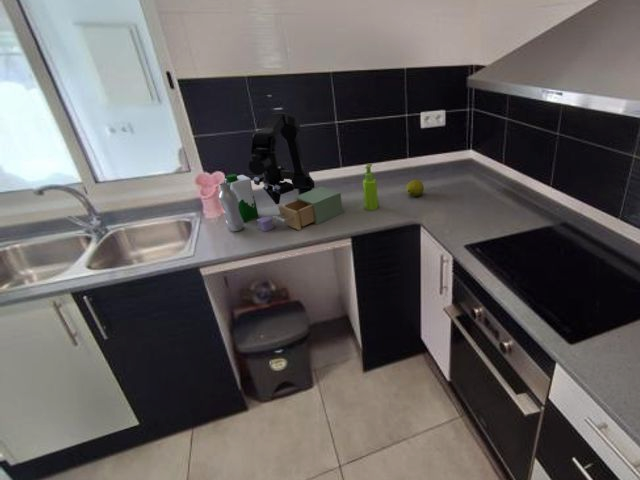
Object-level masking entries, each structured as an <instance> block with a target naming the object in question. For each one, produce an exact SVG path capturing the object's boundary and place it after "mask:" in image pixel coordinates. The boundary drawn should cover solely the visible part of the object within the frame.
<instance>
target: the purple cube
mask: <svg viewBox="0 0 640 480" xmlns="http://www.w3.org/2000/svg"><path fill="white" fill-rule="evenodd" d="M256 221H257V225H258V229H259V230H261V231H263V232H268V231H269V230H272V229H274V228H275V226H274V222H273V218H271V217H269V216H267V215H265V216H262V217H260V218H258V219H256Z"/></svg>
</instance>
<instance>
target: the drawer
mask: <svg viewBox="0 0 640 480" xmlns="http://www.w3.org/2000/svg"><path fill="white" fill-rule="evenodd" d="M278 211H279V214H277V215H276V214H275V215H273V216H272V219H274V220H277V221H279V222H281V223H282V224H285V225H286V226H288V227H291V228H294V229H296V230H298V231H299V230H302V228H303V227H306V226H307V225H309V224H311V223H313V222H314V221H315V214H314V208H313V205H312V204H309V203H307V202H304V201H301V200H299V199H298V200H293V201H290V202H288V203H285V204H284V205H283V204H278Z"/></svg>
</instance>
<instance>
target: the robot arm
mask: <svg viewBox="0 0 640 480" xmlns="http://www.w3.org/2000/svg"><path fill="white" fill-rule="evenodd" d="M300 128H301V124H300V121H299V120H298V119H297V118H296V117H294V116H290V115H288V114H287V113H285V112H275V113H272V117H271V118H270V120H269V121H268V122H267V124H266V125H265V126H264V127H263V128H261V129H259V130H256V131H255V132H254V133H253V135H252V137H251V145H250V155H252V156H251V160H250V161H249V163H248V170H249V171H250V172H251V173H252V174H253V175H256V176H254V177H253V183H254V185H256V186H260V185H261V183H262V184H263V186H262V189H263V191H265V193H266V194H267V195H268V196H269V197H270V199H271V200H272V201H273V202H274V204H275V205H280V202H281V195H284V194H286V193H290V192H292V191H295V190H297V191H298V195H300V194H303V193H306V192H308V191H311V190H313V189H316V188H315V187H316V186H315V185H316V184H315V181H314V179H313V178H312V177H311V175H310V171H309V170H308V169H307V168H306V167H305V165H304V161H303V156H302V152H301V147H300V143H299V139H298V136H299V134H300V131H301V130H300ZM279 133H280V136H281V137H282V138H283V139H284V140H285V141H286V144H287V148H288V153H289V157H290V161H291V165H292V170H293V171H291V170H290V169H289V170H288V169H285V167H284V166H280V165H279V164H278V160H277V155H276V151H277V143H278V139H277V136H278V134H279ZM285 180H290V181H291V182H288V181H285Z"/></svg>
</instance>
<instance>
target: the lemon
mask: <svg viewBox="0 0 640 480" xmlns="http://www.w3.org/2000/svg"><path fill="white" fill-rule="evenodd" d="M424 188H425V185H424V183H423V182H422V181H421V180H419V179H412V180H410V181H409V182H408V183H407V186H406V189H405V190H406V192H407V194H408V195H409V196H411V197H418V196H421V195H422V194H423V192H424V190H425V189H424Z"/></svg>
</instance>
